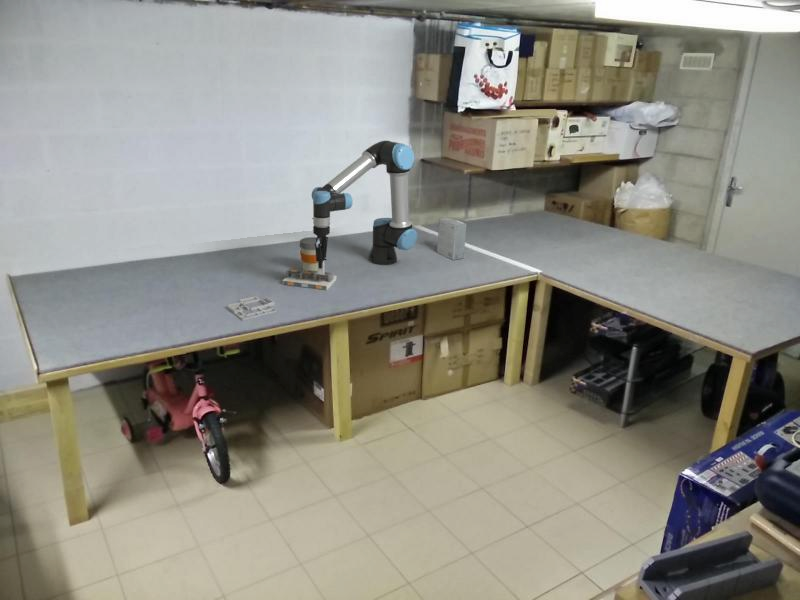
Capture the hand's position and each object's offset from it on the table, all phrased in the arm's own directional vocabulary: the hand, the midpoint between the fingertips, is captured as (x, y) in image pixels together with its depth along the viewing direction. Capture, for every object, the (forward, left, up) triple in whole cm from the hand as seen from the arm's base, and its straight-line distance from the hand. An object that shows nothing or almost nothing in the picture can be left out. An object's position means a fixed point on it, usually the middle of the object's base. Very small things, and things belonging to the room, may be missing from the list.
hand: (321, 273), depth 294 cm
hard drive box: (-53, -69, -7) cm, 87 cm away
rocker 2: (0, -4, -2) cm, 4 cm away
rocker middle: (+7, -4, -2) cm, 8 cm away
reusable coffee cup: (+12, -22, -7) cm, 26 cm away
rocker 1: (+14, -4, -2) cm, 15 cm away
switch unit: (+7, -4, -6) cm, 10 cm away
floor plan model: (+22, +32, -7) cm, 39 cm away
